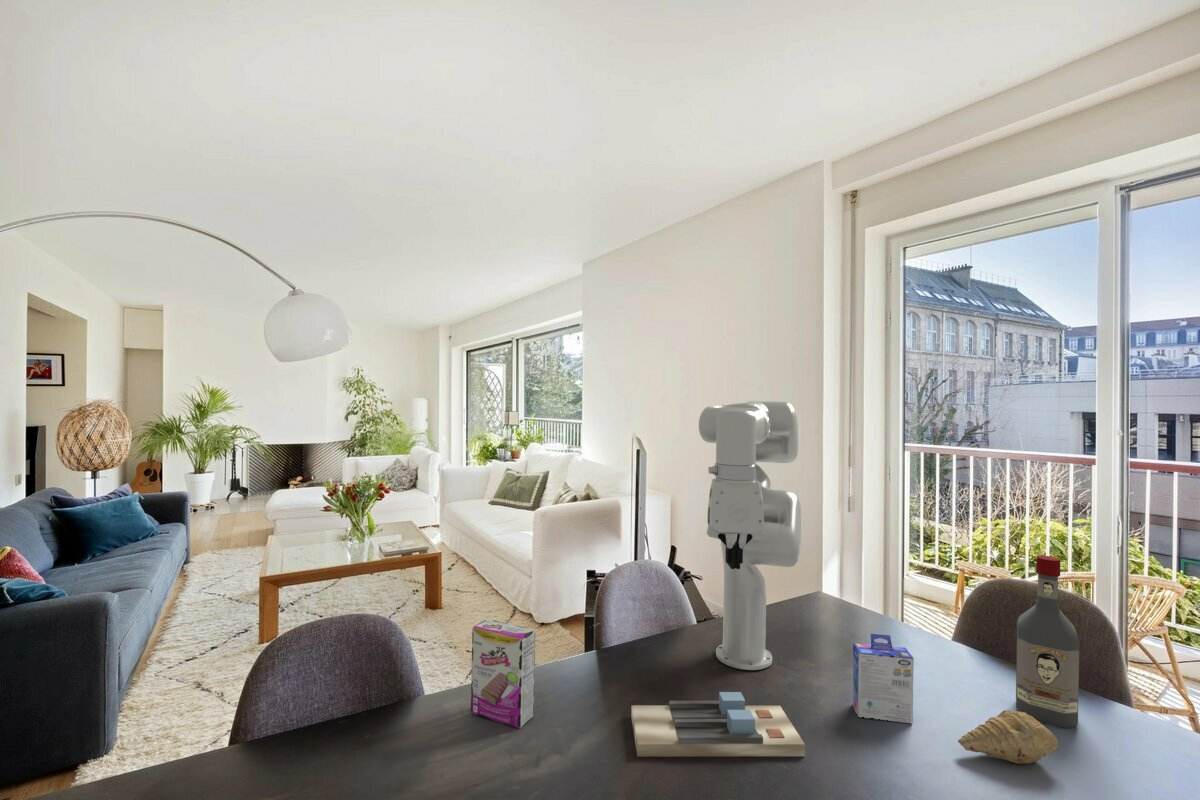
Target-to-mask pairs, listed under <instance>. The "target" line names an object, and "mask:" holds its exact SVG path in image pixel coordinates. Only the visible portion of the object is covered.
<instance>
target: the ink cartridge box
mask: <svg viewBox="0 0 1200 800" xmlns="http://www.w3.org/2000/svg"><path fill="white" fill-rule="evenodd" d="M878 639H883V640H885V641H887V643H886V642H885V643H884V642H877V641H875V640H878ZM914 660H915V659H914V657H913V656H912V654H911V653H910V651H909V650H908V649H907V648H906V647H905V646H894V645H893V644H892V640H891V635H889V634H888V635H887V634H879V633H870V644H867V643H855V642H853V644H852V661H853V662H852V666H853V667H852V669H853V670H852V673H853V674H852V676H853V677H852V680H853V681H852V683H853V684H852V686H853V687H852V707H853V709H854V712H855V715H856V714H857V715H856V716H857V717H859V718H862V717H864V718H863V719H870V718H874V719H873V720H879V719H880V721H887V720H888V721H890V722H896V723H903V724H904V723H906V724H913V723H914Z"/></svg>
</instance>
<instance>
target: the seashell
mask: <svg viewBox="0 0 1200 800" xmlns="http://www.w3.org/2000/svg"><path fill="white" fill-rule="evenodd" d="M957 742H958V743H959V744H960V746H962V747H963V748H964V750H965V751H968V752H974V753H982V754H985V755H986V756H989V757H992V758H995V759H1001V760H1004V761H1008V762H1011V763H1015V764H1017V765H1019V764H1020V765H1021V764H1022V765H1024V764H1031V763H1036V762H1037V761H1039V760H1040V761H1041V759H1042V758H1044V757H1048V756H1049V755H1050V753H1052V752H1054V751H1056V750H1057V749H1058V746H1059V741H1058V739H1057V737H1056V735H1054V734H1053V733H1052V731H1050V729H1048V728H1046V726H1045V725H1044V724H1042V722H1039V721H1037V720H1036V719H1034V718H1033V717H1032V716H1030V715H1028V714H1027V713H1025V712H1019V711H1018V710H1010V709H1009V710H1008V709H1007V710H1005V709H1004V710H1003V711H1001V712H1000V713H998V715H997V716H996V717H995V716H991V717H989V718H988V719H987V720H985V722H984V724H983V723H982V724H979V725H978V726H977V727H975V728H974V729H971V730H970V731H968V732H967V733H966V734H963V735H962V736H961V737H960V738H959V739H958V740H957Z"/></svg>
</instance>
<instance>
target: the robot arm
mask: <svg viewBox="0 0 1200 800" xmlns="http://www.w3.org/2000/svg"><path fill="white" fill-rule="evenodd" d="M701 411H702V412H701V414H700V415H699V417H698V418H699V419H698V431H699V434H700V437H701V438H702V440H703V441H704V442H706V443H710V444H715V462H714V464H713V465H712V466H709V467H708V468H707V471H708V474H711V475H713V476H714V477H715V478H712V479H711V485H710V489H709V497H708V506H707V516H706V518H707V525H708V526H707V530H706V535H707V537H710V538H713V539H718V540H720V546H721V553H722V560H723V561H722V562H723V608H722V609H723V611H722V612H723V613H722V614H723V616H722V620H723V621H722V622H723V623H722V643H721V644H719V645H718V646H717V647H716V649H715V656H716V659H718V661H720V662H721V663H723V664H724V665H726V666H729V667H731V668H734V669H739V670H745V671H759V670H763V669H766V668H768V667H770V666H771V665H772V664H773V655H772V653H771V651H769V650H768V649H766V639H767V638H766V636H767V635H766V631H767V582H766V580H765V576H764V575H763V574H762V571H760V569H759V568H758V567H757V565H759V566H761V565H762V566H769V567H771V566H772V567H778V568H779V567H781V568H791V567H794V566H796V565H797V563H798V562H799V560H800V556H801V555H800V554H801V546H802V545H801V544H802V542H801V540H802V536H801V535H802V532H801V531H802V509H801V502H800V499H799V497H798V496H797V495H796V494H795V493H794V492H792V491H790V490H789V491H788V490H781V489H771V485H772V484H771V479H770V478H769V476H768V474H767V473H766V472H765V471H764V470H763V468H761V467H760V466H759V465H757V464H756V463H757V462H758V463H771V464H772V463H773V464H774V463H775V464H790V463H792V462H794V461H795V460H796V459H797V457H798V453H799V428H798V427H799V424H798V423H799V422H798V416H797V412H796V409H795V408H794V407H793V405H792V404H791V403H790V402H786V401H769V400H768V401H766V400H765V401H762V400H761V401H759V400H758V401H757V400H753V401H752V400H751V401H750V400H749V401H746V402H742V403H741V402H740V403H739V402H738V403H731V404H720V405H711V406H706V407H705V408H704V409H703V410H701Z"/></svg>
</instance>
